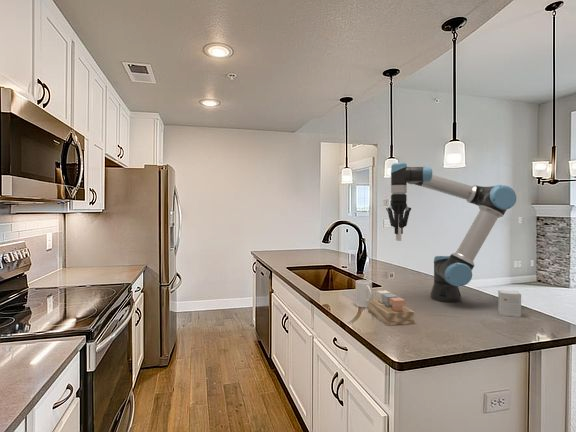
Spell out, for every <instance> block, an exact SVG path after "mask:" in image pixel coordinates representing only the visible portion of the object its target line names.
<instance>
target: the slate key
mask: <svg viewBox="0 0 576 432" xmlns="http://www.w3.org/2000/svg"><path fill="white" fill-rule="evenodd" d="M397 297H399V296H398V295H396V294H394V293H391V294H383V300H384V301H385V306H386V307H388V308H389V307H392V305H391V304H389V298H397Z"/></svg>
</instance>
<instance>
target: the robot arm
mask: <svg viewBox="0 0 576 432" xmlns="http://www.w3.org/2000/svg"><path fill="white" fill-rule="evenodd" d="M390 168H391V170H390V193H391V195H390V201H391V202H390V204H389V205H390V206H389V207H385V211H386V212H387V213H388V219H389V225H390V226H391V227H392V228H393V229H394V234H395V240H396V241H397V242H398V241H399V242H401V241H402V235H403V233H404V228H405V227H407V225H408V221H409V217H410V213H411V210H412V207H409V206H408V203H407V201H408V199H407V198H408V197H407V196H408V195H407V194H406V193H407V192H408V191H407V190H408V189H407V187H408V186H407V184H409V185H415V186H419V187H423V188H426V189H429V190H431V191H437V192H439V193H443V194H446V195H449V196H451V197H452V196H453V197H456V198H459V199H463V200H466V202H467V203H469V204H472V205H476V206H477V207H478V208H479V211H478V213H477V215H476V217H475V218H474V220H473V222H472V223H471V225H470V227H469V229H468V231H467V232H466V234H465V236H464V237H463V239H462V241H461V243H460V245H459V247H458V248H457V250H456V252H453V253H451V254H450V255H435V256H434V258H433V286H432V288H431V291H430V295H429V297H430V299H433V300H434V301H439V302H445V303H456V302H460V301H462V294H461V291H460V288H459V287H463V286H466V285H468V284H469V283H470V282H471V280H472V279H473V272H472V271H473V269H474V267H475V262H474V260H475V259H476V257H477V255H478V253H479V252H480V250H481V248H482V246H483V245H484V243H485V241H486V239H487V237H488V236H489V235H490V233H491V231H492V229H493V228H494V226H495V224H496V222H497V220H498V219H499V218H503V217H504V215H505V214H506V212H507V210H510V209H511V208H512V207H514V206H515V204H516V202H517V194H516V192H515V190H514V189H513V188H512V187H510V186H509V185H505V184H504V185H503V184H497V185H492V186H481V185H476V184H473V185H469V184H466V183H462V182H459V181H456V180H452V179H448V178H445V177H441V176H438V175H436V174H435V175H434V174H433V169H432V167H430V166H408V165H407V163H406V162H394V163H392V164H391V167H390Z"/></svg>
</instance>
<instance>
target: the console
mask: <svg viewBox="0 0 576 432" xmlns="http://www.w3.org/2000/svg"><path fill="white" fill-rule="evenodd" d="M367 309H368V312H369V313H370V314H371V315H373V316H374V317H375V318H377V319H379V320H380V321H381V322H382V323H384V324H385V325H387V326H399V325H411V324H415V311H414V310H412V309H410V308H408V307H407V306H406V305H405V306H402V311H401V312H394V311H393V310H392V307H389V308H388V307H386V306H385V303H384V304H381V303H380V302H379V299H378V300H372V301H368V307H367Z"/></svg>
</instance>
